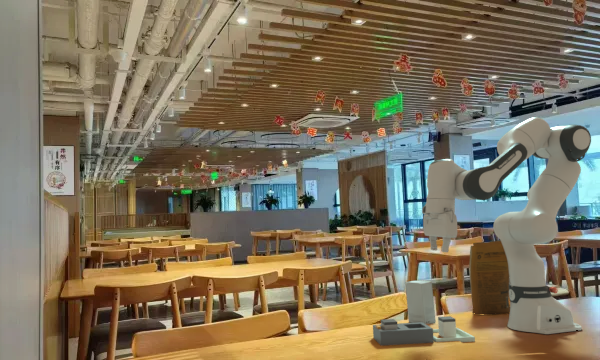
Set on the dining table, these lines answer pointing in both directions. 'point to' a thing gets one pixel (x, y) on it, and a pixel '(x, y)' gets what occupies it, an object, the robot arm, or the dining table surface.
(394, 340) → the grey socket block
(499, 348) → the dining table surface
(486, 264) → the pancake mix bag
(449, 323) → the plug
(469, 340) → the tray
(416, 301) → the skincare box
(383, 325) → the twin plug
